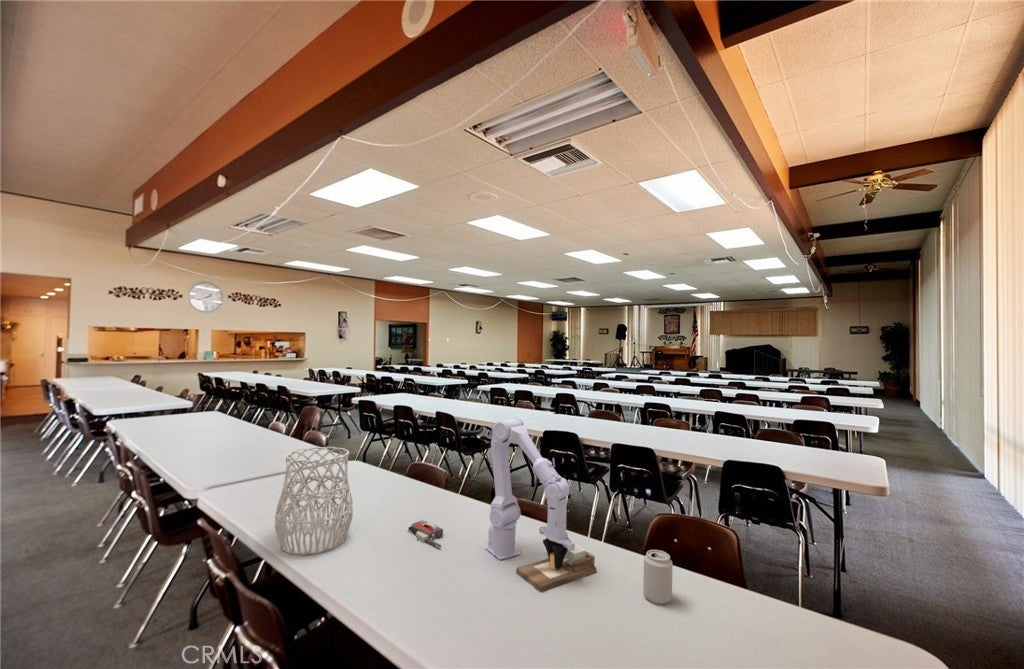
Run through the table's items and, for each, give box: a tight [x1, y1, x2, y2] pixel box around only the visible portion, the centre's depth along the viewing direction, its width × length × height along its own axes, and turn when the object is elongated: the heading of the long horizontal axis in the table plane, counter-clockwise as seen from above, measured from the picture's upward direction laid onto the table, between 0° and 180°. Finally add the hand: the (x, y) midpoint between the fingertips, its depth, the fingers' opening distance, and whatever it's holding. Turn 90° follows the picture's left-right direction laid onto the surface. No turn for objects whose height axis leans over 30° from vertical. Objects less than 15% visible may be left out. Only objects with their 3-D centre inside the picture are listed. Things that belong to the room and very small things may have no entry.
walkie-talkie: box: [408, 520, 444, 548], centre depth 154 cm, size 9×4×20 cm
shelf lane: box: [515, 551, 597, 593], centre depth 132 cm, size 12×22×4 cm, turn 124°
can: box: [642, 549, 673, 605], centre depth 120 cm, size 8×8×12 cm
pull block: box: [550, 543, 587, 570], centre depth 134 cm, size 6×11×4 cm, turn 124°
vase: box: [274, 446, 354, 556], centre depth 149 cm, size 24×24×30 cm
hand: (555, 565), depth 132 cm, fingers closed on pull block, 2 cm apart
